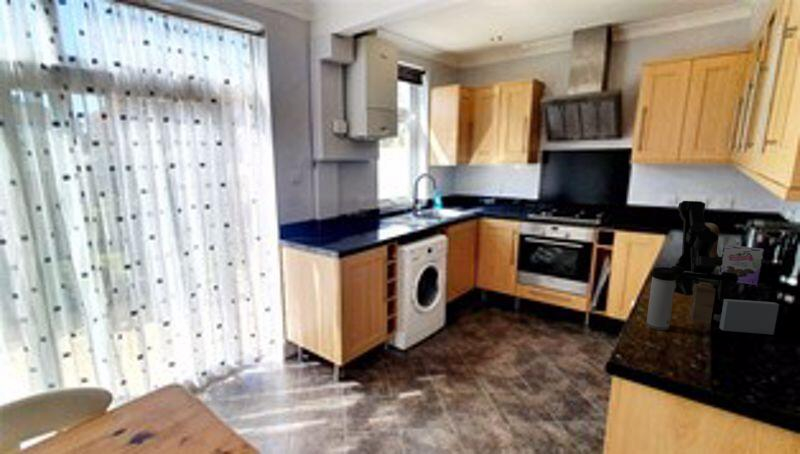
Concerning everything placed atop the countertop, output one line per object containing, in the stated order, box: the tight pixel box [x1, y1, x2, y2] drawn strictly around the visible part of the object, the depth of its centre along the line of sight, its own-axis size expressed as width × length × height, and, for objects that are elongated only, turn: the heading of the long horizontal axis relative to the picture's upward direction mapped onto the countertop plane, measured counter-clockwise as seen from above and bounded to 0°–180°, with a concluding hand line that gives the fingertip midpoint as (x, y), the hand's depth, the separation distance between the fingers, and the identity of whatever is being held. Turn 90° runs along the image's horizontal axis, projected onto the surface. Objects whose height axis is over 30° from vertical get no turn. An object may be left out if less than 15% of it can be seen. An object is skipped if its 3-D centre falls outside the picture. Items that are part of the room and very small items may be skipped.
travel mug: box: [646, 266, 678, 331], centre depth 125 cm, size 6×7×20 cm
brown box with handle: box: [689, 281, 717, 325], centre depth 132 cm, size 5×5×13 cm
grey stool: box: [713, 298, 780, 336], centre depth 127 cm, size 10×14×10 cm
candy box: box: [718, 244, 765, 287], centre depth 174 cm, size 14×6×16 cm, turn 47°
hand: (703, 297), depth 131 cm, fingers open, 9 cm apart
